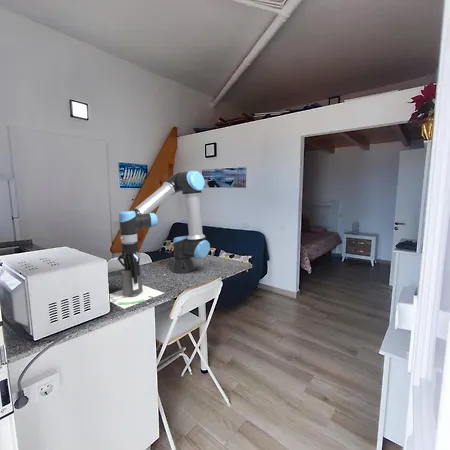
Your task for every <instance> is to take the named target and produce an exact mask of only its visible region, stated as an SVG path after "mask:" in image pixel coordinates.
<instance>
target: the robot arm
mask: <svg viewBox="0 0 450 450" xmlns="http://www.w3.org/2000/svg"><path fill="white" fill-rule="evenodd" d="M205 183H206V182H205V178H204V176H203V174H202V173H200V172H199V171H196V170H190V171H182V172H181V171H180V172H176V173H175V174H172V175H171V176H170V177H168V178H167V179H166V180H165V181H163V183H162V184H161V186H160V187H159V188H158V189H157V190H155V191H154V192H153V193H152V194H151V195H149V196H147V197H146V199H144V200H143V201H142V202H141V203H140V204H138V205H137V206H136V207H135V208H133V209H132V210H126V211H124V210H123V211H120V212H119V214H118V222H119V232H120V241H121V243H122V244H121V252H124V253H122V254H123V255H122V254H121V255H122V256H123V259H122V260H123V264H124V271H125V270H131V271H132V277H131V278H132V287H133V290H136V289H139V288H138V276H140V269H141V267H140V259H141V258H140V256H139V257H137V256H136V252H137V251H138V250H139V243H138V230H141V229H148V228H149V229H150V228H153V227H157V224H158V222H159V221H158V216H157V214H156V213H154V212H153V211H154V210H155V209H157V207H159V206H160V205H161V204H162V203H164V201H166V200H167V199H168V198H170V196H174V195H175V194H177V193H180V192H182V196H184V199H185V206H186V207H185V208H186V209H185V210H186V217H187V218H186V220H187V227H188V235H183V236H177V237H174V238H173V243H172V245H173V259H174V260H173V264H172V267H171V271H172V273H175V274H187V273H191V272H194V271H195V270H196V269H195V267H196V266H195V264H194V260H193V258H195V259H204V258H206V257H207V256H208V254H209V253H210V250H211V245H210V242H209V241H208V240H206V235H205V234H203V223H202V213H201V202H200V201H201V200H200V195H201V194H202V190H203V189H204V187H205V185H206V184H205Z"/></svg>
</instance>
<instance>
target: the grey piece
mask: <svg viewBox="0 0 450 450" xmlns="http://www.w3.org/2000/svg"><path fill="white" fill-rule="evenodd" d="M120 275H121V276H120V277H121V287H122V288H121V290H123V296H119V297H115V298H113V300H114V299H118V298H122V297H126V296H128V297H134V296H137V295H139V293H140V292H143V288H142V285H143V278H142V277H143V276H142V268H140V276H138V288H139V289H136V290H133V287H132V278H131V277H132V271H131V270H125V269H124V270H121V271H120Z"/></svg>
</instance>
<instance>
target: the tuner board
mask: <svg viewBox="0 0 450 450" xmlns="http://www.w3.org/2000/svg"><path fill="white" fill-rule="evenodd" d="M142 288H143V292H140V293H139V295H137V296H134V297H128V296H126V297H122V298H118V299H114V300H113V298H115V297H119V296H123V290H122V289H121V290H117V291H115V292H112V293H109V295H110V301H109V302H110V303H112V304H114V305H116V306H117V307H120V308H122V309H124V310H125V309H127V308H129V307H132V306H135V305H137V304H140V303H144V302H146V301H147V300H151V299H153V298H155V297H158V296H160V295H164V292H163V291H160V290H158V289H154V288H151V287H150V286H146V285H144V284H142Z"/></svg>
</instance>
